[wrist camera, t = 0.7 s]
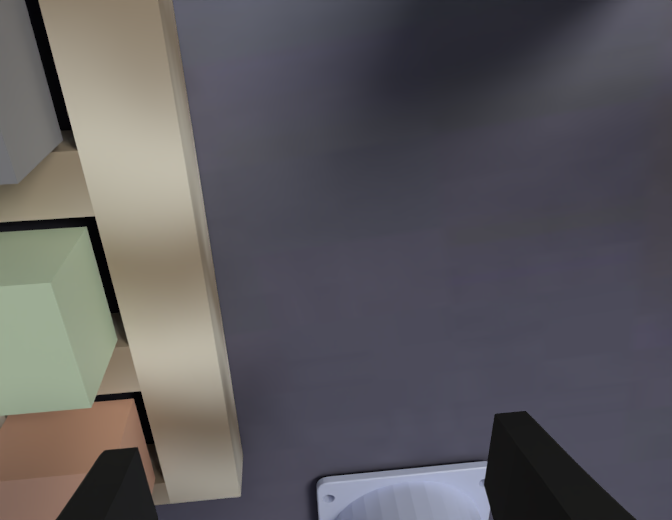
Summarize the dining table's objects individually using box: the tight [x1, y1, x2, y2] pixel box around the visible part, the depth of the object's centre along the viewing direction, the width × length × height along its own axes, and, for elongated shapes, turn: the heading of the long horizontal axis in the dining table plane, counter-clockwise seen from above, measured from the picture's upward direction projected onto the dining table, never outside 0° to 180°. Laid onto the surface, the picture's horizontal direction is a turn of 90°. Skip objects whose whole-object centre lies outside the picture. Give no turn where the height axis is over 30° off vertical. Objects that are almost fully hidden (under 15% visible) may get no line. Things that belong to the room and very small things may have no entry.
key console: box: [0, 0, 243, 505], centre depth 18 cm, size 20×10×2 cm, turn 1°
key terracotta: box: [0, 399, 156, 520], centre depth 19 cm, size 4×4×3 cm
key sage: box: [0, 227, 118, 416], centre depth 15 cm, size 4×4×3 cm
